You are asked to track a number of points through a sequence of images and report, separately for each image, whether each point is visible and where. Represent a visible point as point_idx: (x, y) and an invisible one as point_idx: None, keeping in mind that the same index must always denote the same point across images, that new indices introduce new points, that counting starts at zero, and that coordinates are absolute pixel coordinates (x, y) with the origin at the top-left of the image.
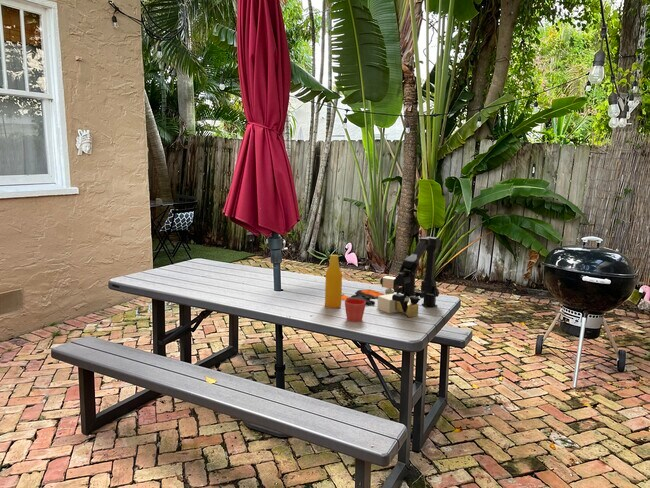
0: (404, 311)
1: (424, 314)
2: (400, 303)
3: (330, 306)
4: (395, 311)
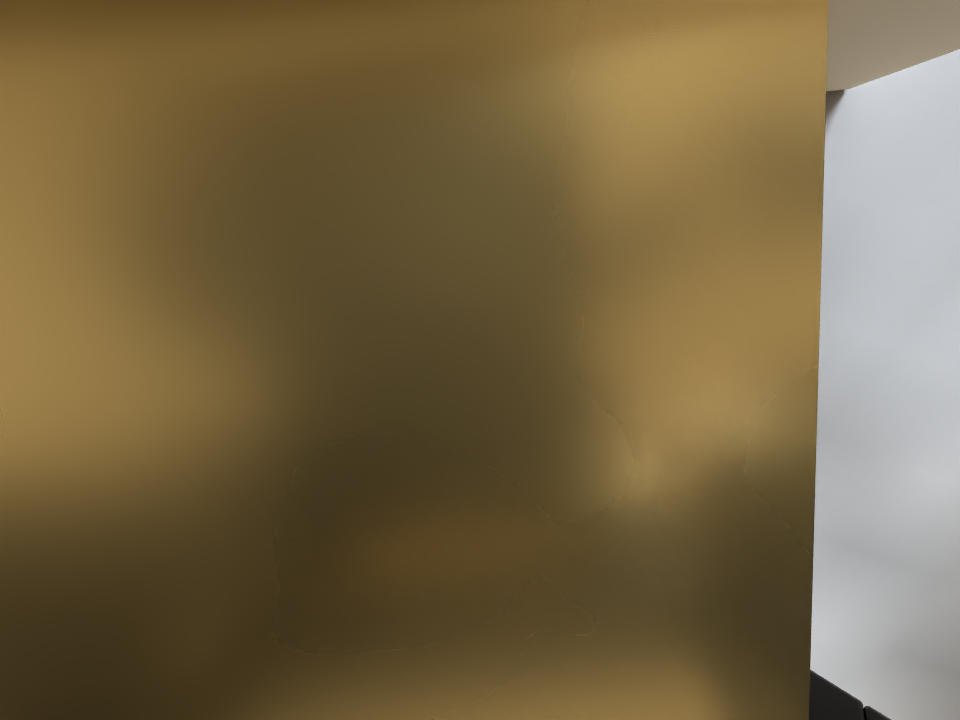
0: None
1: (889, 664)
2: (18, 638)
3: None
4: None
